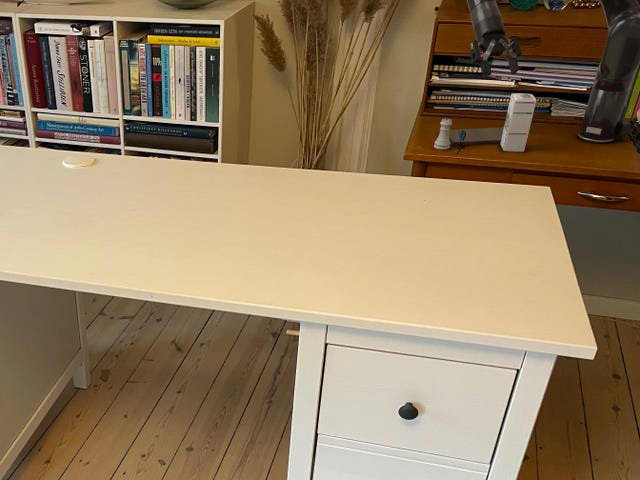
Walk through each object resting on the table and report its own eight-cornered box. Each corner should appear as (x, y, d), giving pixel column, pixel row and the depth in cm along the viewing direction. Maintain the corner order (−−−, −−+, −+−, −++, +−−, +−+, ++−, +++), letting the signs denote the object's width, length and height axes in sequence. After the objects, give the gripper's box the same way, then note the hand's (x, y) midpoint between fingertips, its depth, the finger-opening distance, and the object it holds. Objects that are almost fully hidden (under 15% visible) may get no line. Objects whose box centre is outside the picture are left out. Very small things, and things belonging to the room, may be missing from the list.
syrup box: (524, 152, 206) (538, 99, 198) (502, 151, 207) (514, 98, 199) (520, 145, 211) (534, 93, 202) (498, 144, 212) (511, 92, 203)
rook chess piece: (430, 147, 211) (435, 119, 207) (440, 144, 213) (445, 116, 209) (443, 151, 208) (448, 123, 204) (453, 148, 210) (458, 120, 206)
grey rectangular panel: (505, 130, 222) (505, 127, 221) (521, 142, 213) (522, 138, 212) (439, 133, 221) (440, 130, 221) (453, 145, 212) (454, 142, 212)
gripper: (472, 16, 206) (486, 68, 203) (517, 12, 208) (532, 64, 206) (457, 32, 213) (471, 83, 211) (501, 28, 216) (516, 79, 213)
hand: (501, 73), depth 208 cm, fingers open, 8 cm apart
